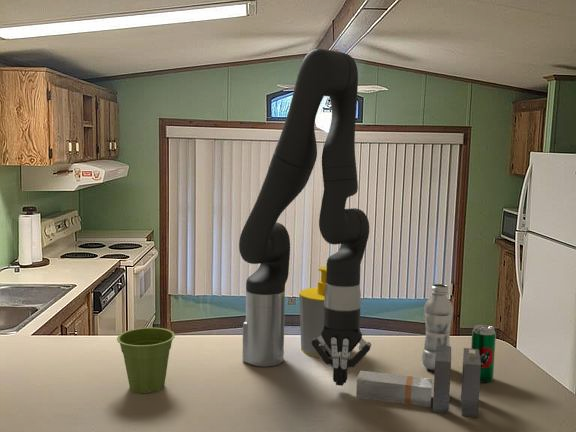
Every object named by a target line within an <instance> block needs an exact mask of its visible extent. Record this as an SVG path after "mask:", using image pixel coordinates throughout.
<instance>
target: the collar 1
mask: <svg viewBox="0 0 576 432" xmlns="http://www.w3.org/2000/svg"><path fill="white" fill-rule="evenodd" d="M451 368H452V346H451V345H450V346H440V345H436V357H435V370H434V374H433V377H434V378H433V398H432V412H433V413H440V414H449V410H450V409H449V406H450V394H451V393H450V389H451V386H450V385H451V372H452V371H451V370H452V369H451Z"/></svg>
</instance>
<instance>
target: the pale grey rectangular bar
mask: <svg viewBox="0 0 576 432" xmlns="http://www.w3.org/2000/svg"><path fill="white" fill-rule="evenodd" d="M432 389H433V378H428V377H421V376H420V377H418V376H410V375H401V374H393V373H385V372H375V371H369V370H368V371H367V370H360V371H359V373H358V375H357V378H356V394H355V396H356V397H355V398H358V399H364V400H365V399H366V400H371V401H372V400H375V401H382V402H390V403H398V404H404V405H413V406H419V407H428V408H431V404H432V394H433V391H432Z"/></svg>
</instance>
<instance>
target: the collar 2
mask: <svg viewBox="0 0 576 432" xmlns="http://www.w3.org/2000/svg"><path fill="white" fill-rule="evenodd" d="M480 371H481V362H480V354H479V349H471V347H469V348H467V347H463V355H462V371H461V372H462V373H461V391H460V392H461V393H460V399H461V400H462V401H461V416H462V417H463V416H464V417H471V418H479V402H480V401H479V400H480V383H481V382H480Z"/></svg>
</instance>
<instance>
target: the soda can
mask: <svg viewBox="0 0 576 432" xmlns="http://www.w3.org/2000/svg"><path fill="white" fill-rule="evenodd" d="M496 337H497V334H496V331H495V327H494V326H491V325H488V324H487V325H486V324H476V325H474V326H473V329H472V332H471V343H470V344H471V346H470V349H479V354H480V362H481V371H480V383H489V382H491V381H492V380H493V379H494V371H495V352H496V340H497V339H496Z"/></svg>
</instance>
